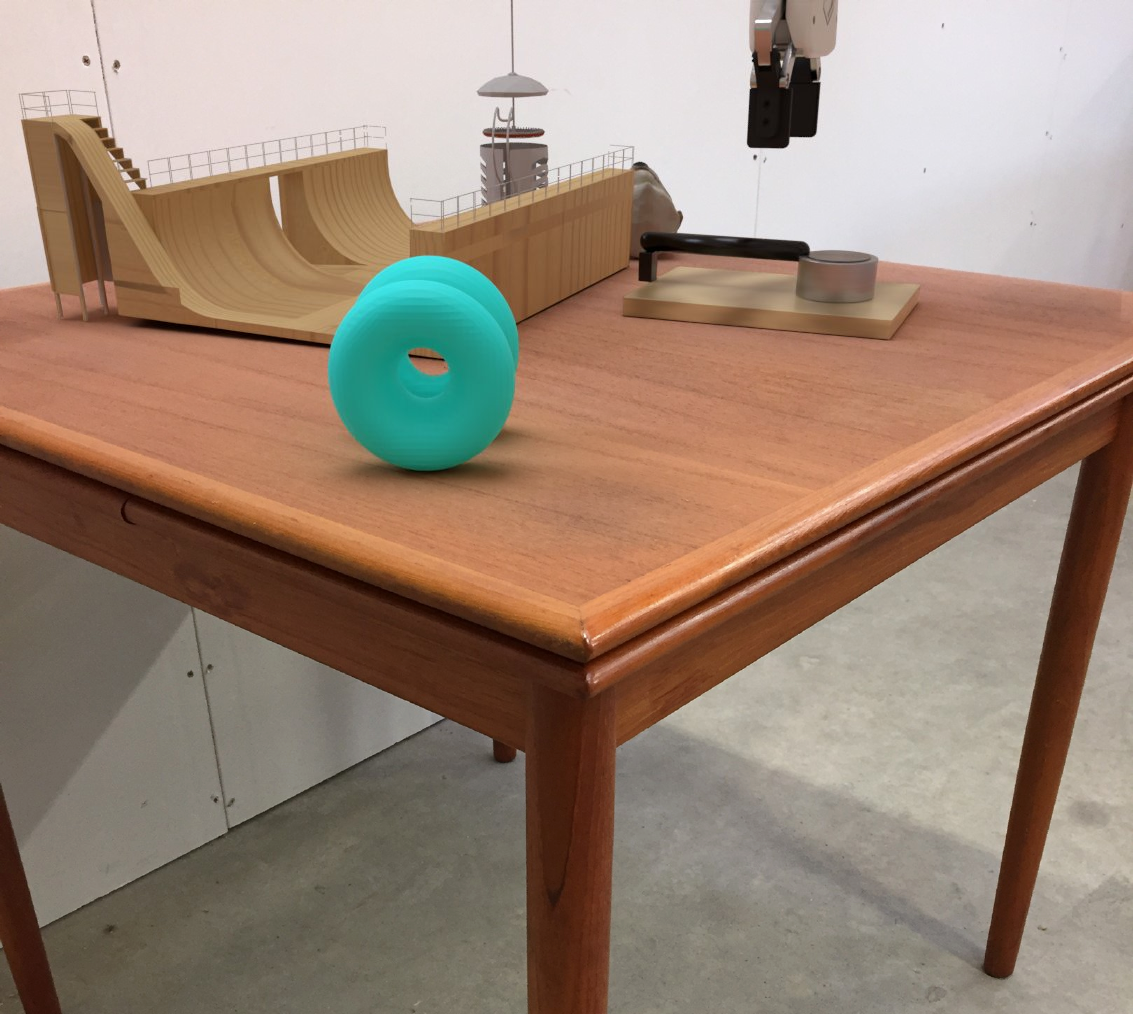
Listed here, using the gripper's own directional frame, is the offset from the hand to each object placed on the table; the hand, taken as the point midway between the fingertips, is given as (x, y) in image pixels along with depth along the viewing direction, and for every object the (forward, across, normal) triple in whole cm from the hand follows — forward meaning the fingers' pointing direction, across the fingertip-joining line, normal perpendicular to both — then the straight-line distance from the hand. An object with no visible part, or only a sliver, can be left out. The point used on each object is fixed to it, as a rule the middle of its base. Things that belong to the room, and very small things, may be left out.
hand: (782, 141), depth 98 cm
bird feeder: (+12, +34, +39) cm, 53 cm away
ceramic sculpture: (+12, +23, +20) cm, 33 cm away
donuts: (+13, -46, +9) cm, 48 cm away
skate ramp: (+12, -7, +35) cm, 38 cm away
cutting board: (+13, 0, 0) cm, 13 cm away
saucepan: (+11, 0, +2) cm, 11 cm away
